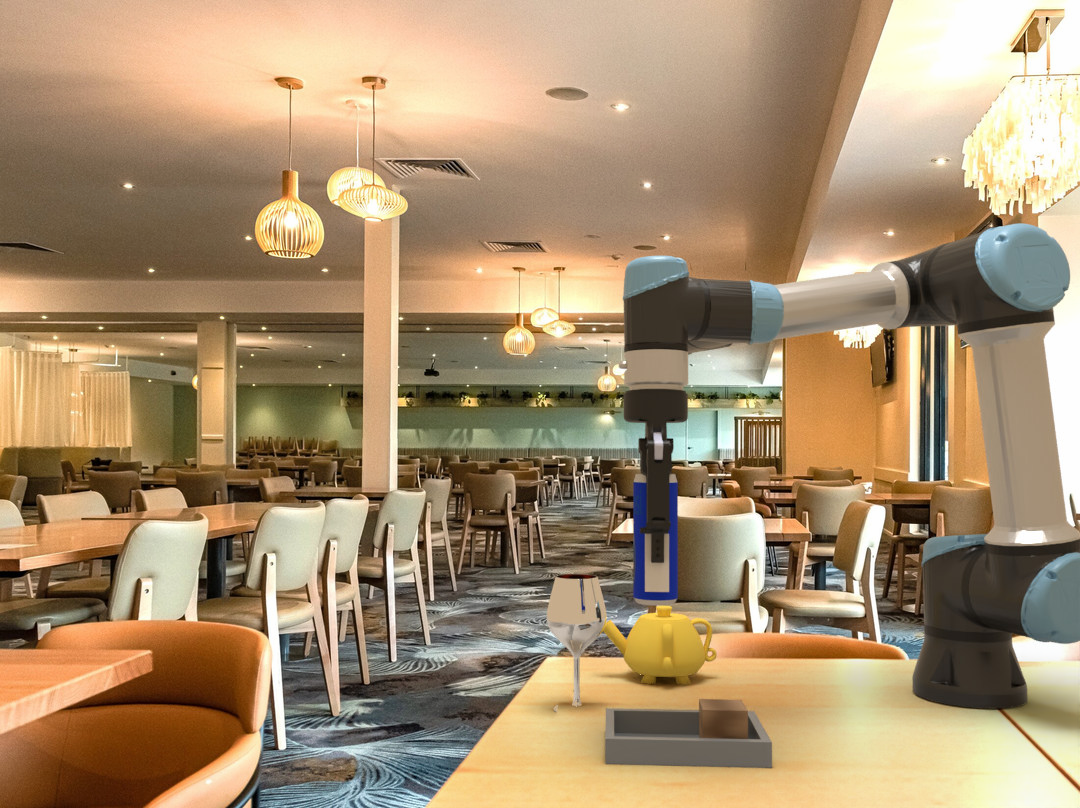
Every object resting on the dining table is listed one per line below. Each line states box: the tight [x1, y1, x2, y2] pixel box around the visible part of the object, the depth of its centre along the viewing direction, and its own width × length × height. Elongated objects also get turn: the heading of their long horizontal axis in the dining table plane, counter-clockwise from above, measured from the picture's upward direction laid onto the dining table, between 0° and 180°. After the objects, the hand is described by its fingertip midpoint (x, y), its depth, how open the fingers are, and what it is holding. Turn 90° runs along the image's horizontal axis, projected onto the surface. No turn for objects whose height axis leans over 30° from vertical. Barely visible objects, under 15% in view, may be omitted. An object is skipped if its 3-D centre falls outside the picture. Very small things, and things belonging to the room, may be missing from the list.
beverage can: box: [632, 472, 679, 607], centre depth 114 cm, size 5×5×15 cm
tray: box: [604, 707, 773, 769], centre depth 112 cm, size 18×13×4 cm
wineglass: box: [546, 573, 608, 713], centre depth 133 cm, size 8×8×18 cm
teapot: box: [602, 605, 717, 685], centre depth 152 cm, size 14×14×11 cm
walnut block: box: [698, 698, 749, 739], centre depth 112 cm, size 5×5×5 cm
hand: (655, 587), depth 114 cm, fingers closed on beverage can, 5 cm apart
